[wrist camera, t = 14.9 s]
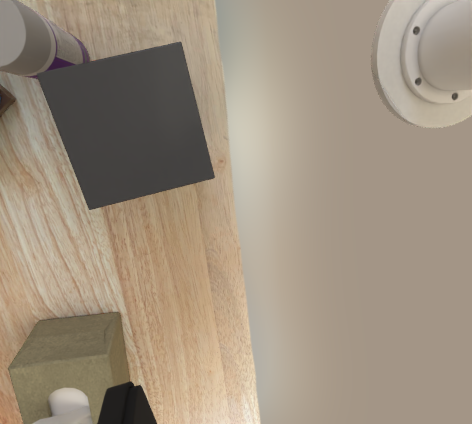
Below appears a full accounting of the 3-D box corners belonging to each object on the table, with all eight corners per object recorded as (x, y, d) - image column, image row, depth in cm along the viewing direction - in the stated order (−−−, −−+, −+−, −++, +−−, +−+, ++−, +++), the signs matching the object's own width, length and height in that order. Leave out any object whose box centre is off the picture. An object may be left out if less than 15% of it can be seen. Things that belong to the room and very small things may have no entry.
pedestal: (179, 71, 36) (181, 41, 19) (198, 145, 38) (214, 178, 21) (104, 88, 35) (35, 73, 18) (129, 162, 38) (89, 210, 21)
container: (50, 88, 34) (-40, 77, 20) (32, 38, 33) (-79, -13, 19) (96, 79, 35) (40, 61, 21) (80, 28, 33) (8, -28, 19)
